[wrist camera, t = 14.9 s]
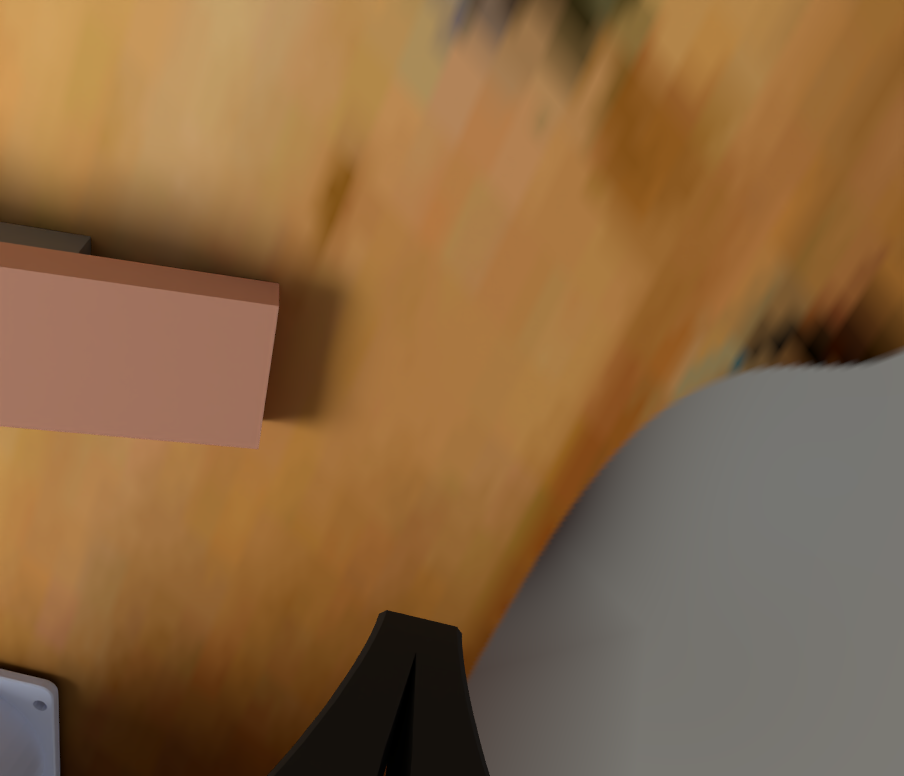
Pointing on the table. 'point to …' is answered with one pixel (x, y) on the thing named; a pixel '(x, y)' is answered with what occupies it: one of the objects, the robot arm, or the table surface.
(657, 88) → the table surface
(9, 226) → the domino
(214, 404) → the domino
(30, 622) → the table surface
